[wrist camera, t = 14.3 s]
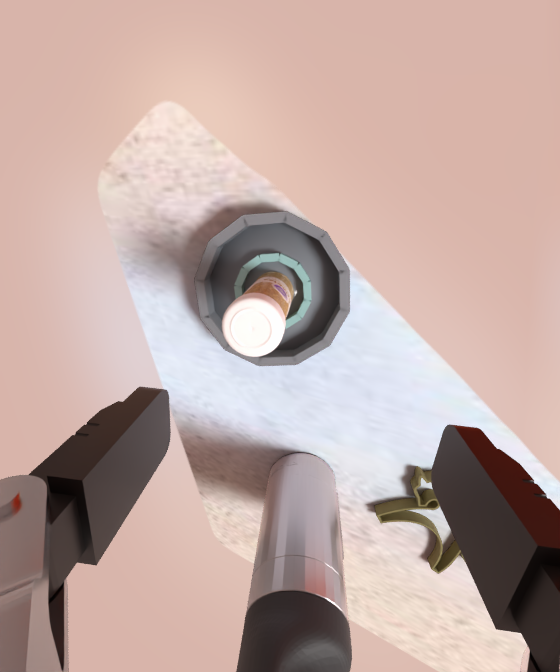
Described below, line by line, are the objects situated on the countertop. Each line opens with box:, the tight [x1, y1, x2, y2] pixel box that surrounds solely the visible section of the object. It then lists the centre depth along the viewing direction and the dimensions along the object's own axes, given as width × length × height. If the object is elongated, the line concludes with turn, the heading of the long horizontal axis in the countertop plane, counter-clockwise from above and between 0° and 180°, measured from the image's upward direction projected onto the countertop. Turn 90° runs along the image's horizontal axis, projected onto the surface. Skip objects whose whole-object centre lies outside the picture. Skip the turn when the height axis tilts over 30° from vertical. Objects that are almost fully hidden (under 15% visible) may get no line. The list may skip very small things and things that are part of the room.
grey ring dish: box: [194, 211, 350, 366], centre depth 35 cm, size 16×16×3 cm
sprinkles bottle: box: [222, 272, 294, 357], centre depth 29 cm, size 5×5×14 cm
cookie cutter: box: [374, 466, 465, 574], centre depth 44 cm, size 18×12×2 cm, turn 44°
